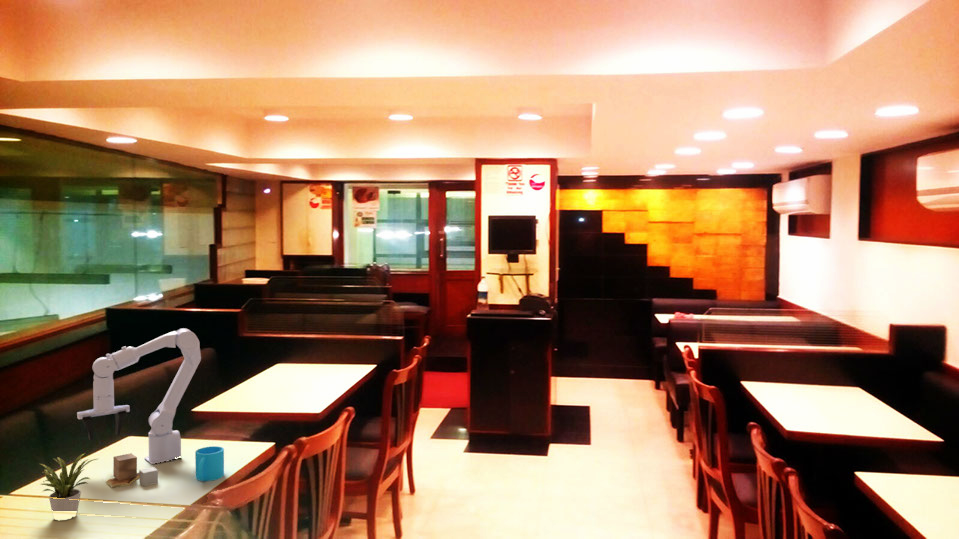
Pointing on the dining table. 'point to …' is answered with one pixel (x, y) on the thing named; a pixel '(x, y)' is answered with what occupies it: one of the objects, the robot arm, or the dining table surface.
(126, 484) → the shard
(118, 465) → the walnut block
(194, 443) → the dining table surface
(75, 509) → the house plant
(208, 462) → the mug
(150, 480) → the light-grey block
